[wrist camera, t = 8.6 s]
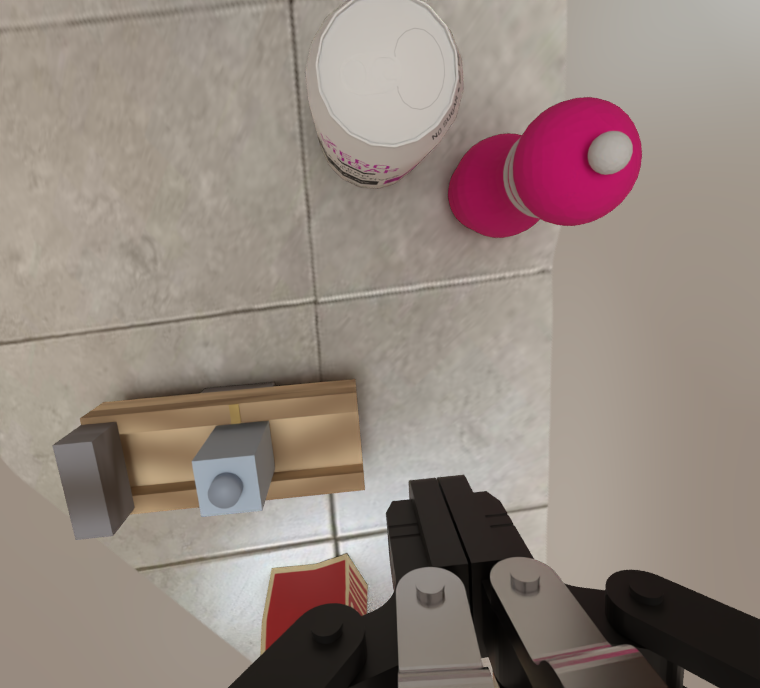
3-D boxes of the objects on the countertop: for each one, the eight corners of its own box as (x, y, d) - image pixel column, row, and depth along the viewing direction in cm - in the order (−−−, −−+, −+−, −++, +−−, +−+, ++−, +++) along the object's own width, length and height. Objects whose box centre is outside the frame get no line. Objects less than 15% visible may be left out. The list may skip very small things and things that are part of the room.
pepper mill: (467, 253, 40) (580, 269, 21) (425, 175, 39) (507, 113, 19) (542, 209, 40) (728, 182, 21) (503, 128, 38) (666, 17, 19)
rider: (216, 425, 37) (186, 468, 30) (268, 420, 37) (251, 462, 30) (223, 473, 38) (196, 525, 31) (275, 468, 38) (259, 519, 31)
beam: (121, 390, 41) (50, 438, 31) (354, 369, 42) (357, 408, 32) (138, 476, 43) (77, 547, 33) (362, 454, 44) (367, 516, 34)
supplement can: (417, 73, 37) (464, -33, 23) (426, 184, 39) (475, 152, 24) (313, 82, 37) (292, -19, 22) (327, 194, 39) (316, 168, 24)
